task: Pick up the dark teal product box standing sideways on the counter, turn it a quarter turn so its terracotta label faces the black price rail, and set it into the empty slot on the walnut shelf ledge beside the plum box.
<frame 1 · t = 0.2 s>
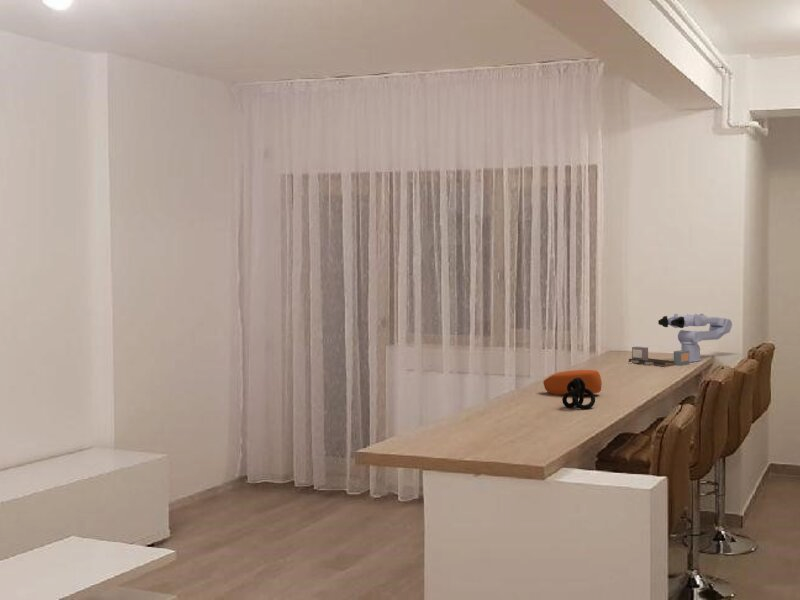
hand: (665, 322, 539), 21 cm above the worktop, tool horizontal, fingers open, 7 cm apart
product box: (681, 364, 540), on the worktop
shelf ledge: (653, 364, 545), on the worktop
squiggle: (579, 408, 423), on the worktop
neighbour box: (640, 361, 549), point 1 cm above the worktop, touching shelf ledge
orange rounded block: (571, 394, 455), on the worktop
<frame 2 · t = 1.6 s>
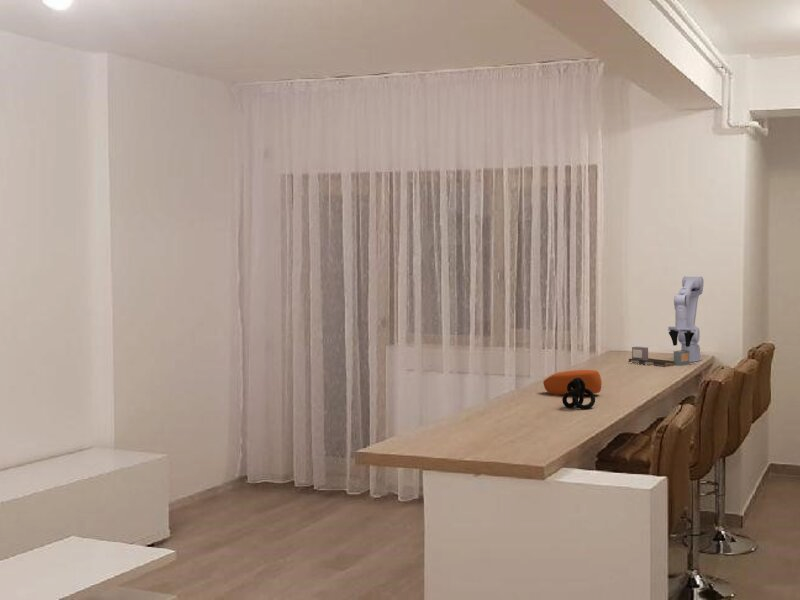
hand: (681, 346, 539), 9 cm above the worktop, tool pointing down, fingers open, 7 cm apart
nothing on the worktop moved.
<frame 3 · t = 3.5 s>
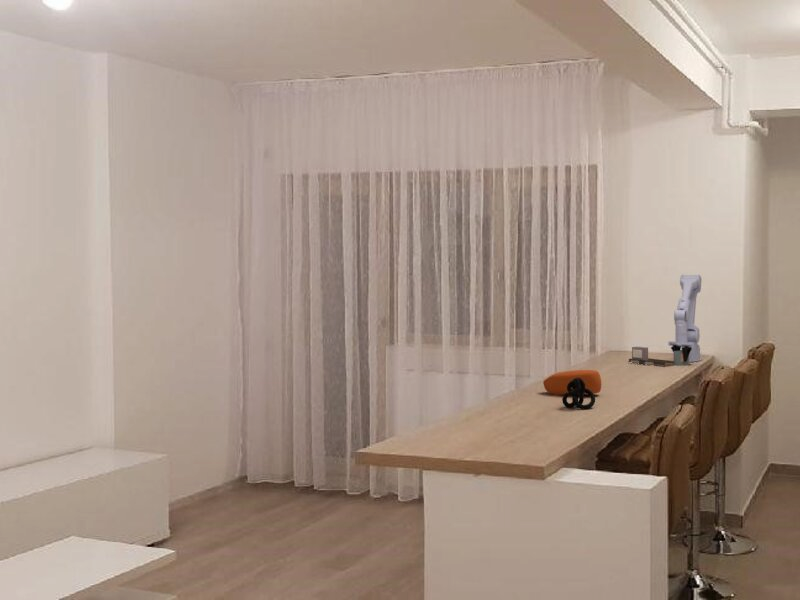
hand: (681, 360, 540), 2 cm above the worktop, tool pointing down, fingers closed on product box, 4 cm apart
product box: (681, 364, 540), on the worktop, touching gripper
everything else where it was.
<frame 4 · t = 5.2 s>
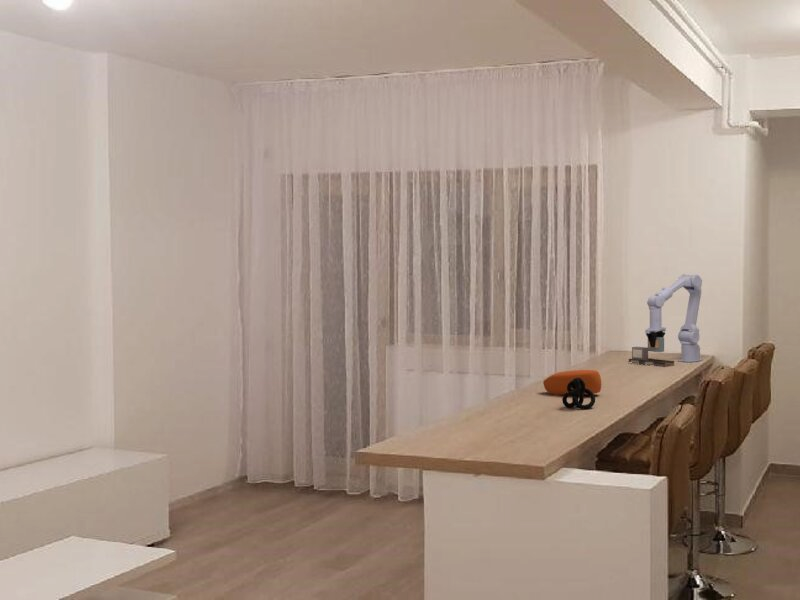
hand: (655, 346, 541), 9 cm above the worktop, tool pointing down, fingers closed on product box, 4 cm apart
product box: (655, 351, 542), point 7 cm above the worktop, touching gripper
everything else where it was.
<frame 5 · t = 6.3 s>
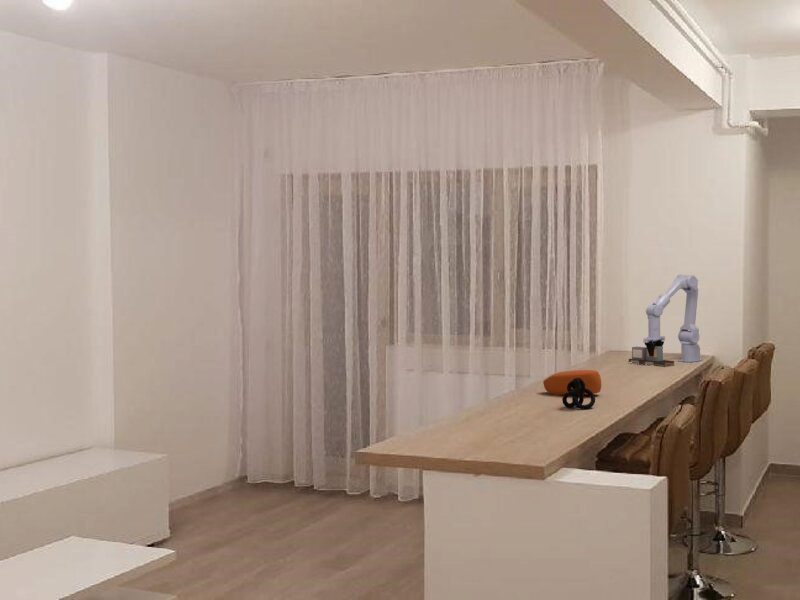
hand: (654, 355, 542), 4 cm above the worktop, tool pointing down, fingers closed on product box, 4 cm apart
product box: (654, 360, 542), point 2 cm above the worktop, touching gripper
everything else where it was.
when the fingers open (4 cm above the worktop, at t = 7.0 s): product box drops 1 cm, resting on shelf ledge.
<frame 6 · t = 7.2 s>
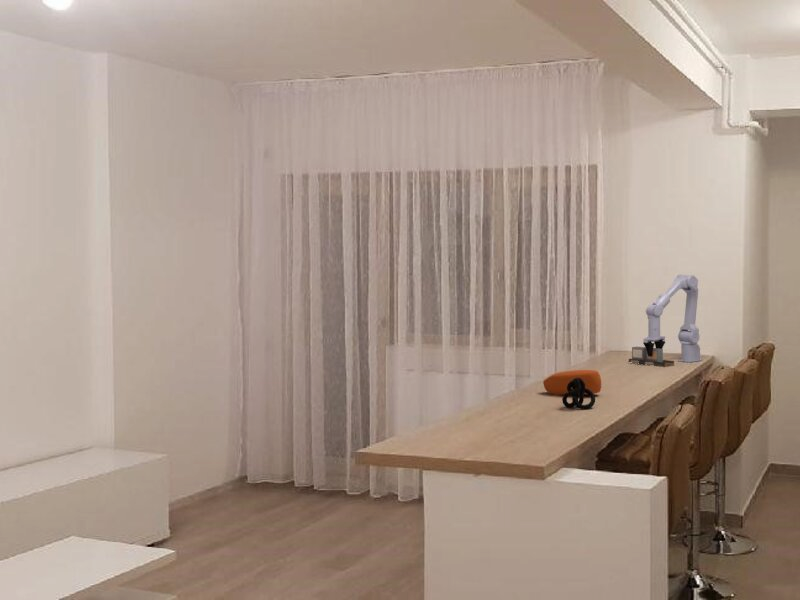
hand: (654, 355, 542), 4 cm above the worktop, tool pointing down, fingers open, 6 cm apart
product box: (654, 362, 542), point 1 cm above the worktop, touching shelf ledge
everything else where it was.
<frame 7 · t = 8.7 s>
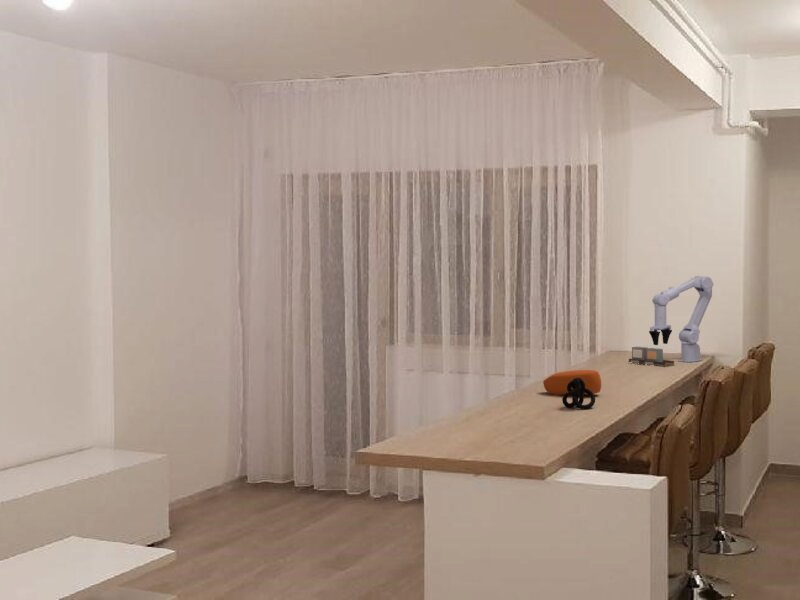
hand: (660, 344, 548), 9 cm above the worktop, tool pointing down, fingers open, 7 cm apart
nothing on the worktop moved.
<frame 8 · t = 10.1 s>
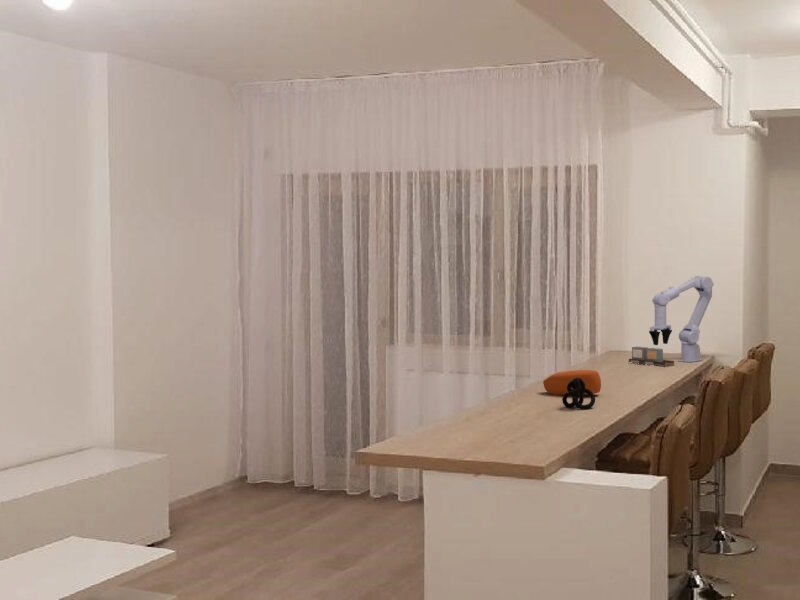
hand: (660, 344, 548), 9 cm above the worktop, tool pointing down, fingers open, 7 cm apart
nothing on the worktop moved.
at the end: product box 0.1 cm from the target spot on the shelf ledge, point 1.0 cm above the shelf ledge's base; product box tilted 0°; the gripper is holding nothing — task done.
